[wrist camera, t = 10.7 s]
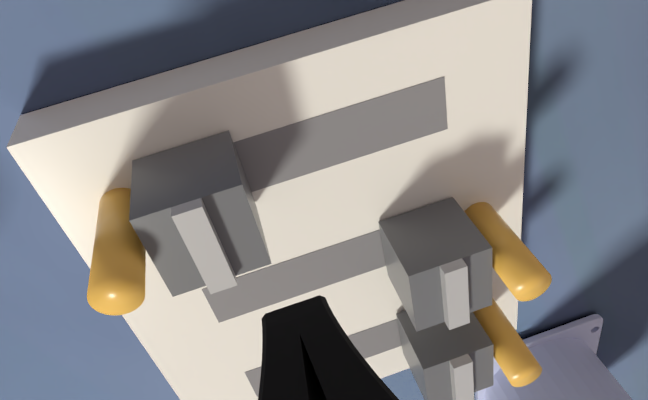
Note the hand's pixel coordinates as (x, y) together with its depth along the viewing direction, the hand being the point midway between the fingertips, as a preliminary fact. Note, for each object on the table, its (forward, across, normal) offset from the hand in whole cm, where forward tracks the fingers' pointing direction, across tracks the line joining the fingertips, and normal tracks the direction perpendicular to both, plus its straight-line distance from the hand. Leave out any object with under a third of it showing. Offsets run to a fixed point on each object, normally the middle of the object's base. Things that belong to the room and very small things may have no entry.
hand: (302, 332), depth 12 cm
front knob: (+7, +2, 0) cm, 7 cm away
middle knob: (+7, -5, +5) cm, 10 cm away
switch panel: (+9, -2, +5) cm, 11 cm away
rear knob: (+7, -5, +11) cm, 14 cm away
